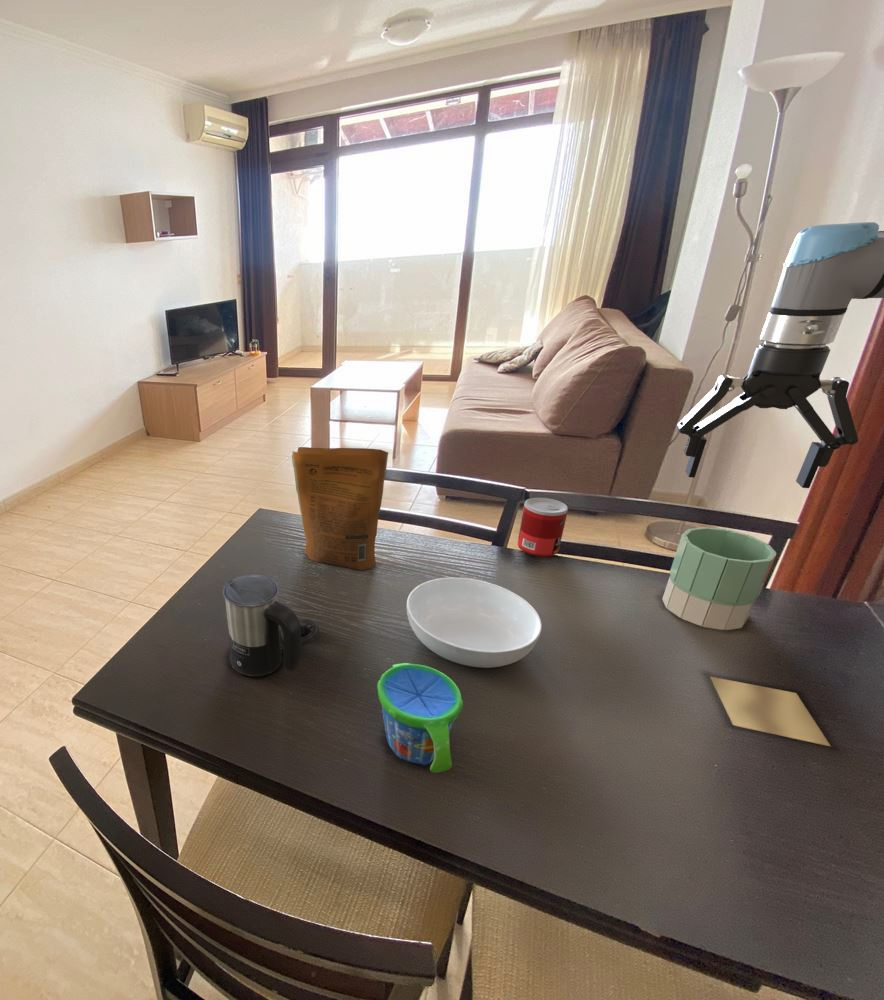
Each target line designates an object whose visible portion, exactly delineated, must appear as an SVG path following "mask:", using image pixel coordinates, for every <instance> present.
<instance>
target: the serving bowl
mask: <svg viewBox="0 0 884 1000" xmlns="http://www.w3.org/2000/svg"><path fill="white" fill-rule="evenodd" d="M406 614H407V615H406V616H407V619H408V622H409V625H410V628H411V630H412V631H413V633H414V635H415V636H416V637H417V638H418V640H419V641H420V642H421V643H422V644H423V646H425V647H426V648H428V649H429V650H430V651H431V652H433V653H434V654H436V655H438V656H439V657H441V658H443V659H445V660H448V661H450V662H453V663H456V664H459V665H463V666H467V667H473V668H482V669H483V668H485V669H486V668H487V669H488V668H498V667H499V668H500V667H504V666H508V665H512V664H513V663H516V662H518V661H520V660H522V659H523V658H524V657H526V656H527V655H528V654H529V653H531V651H532V650H533V649H534V648H535V646H536V644H537V642H538V641H539V639H540V636H541V633H542V630H543V625H542V620H541V617H540V615H539V613H538V612H537V610H536V609H535V608H534V607H533V606H532V605H531V604H530V603H529V602H528V601H527V600H525V598H523V597H522V596H519V595H518V594H516V593H515V592H514V591H511V590H509V589H507V588H505V587H503V586H500V585H497V584H494V583H491V582H488V581H484V580H479V579H475V578H469V577H468V578H467V577H441V578H435V579H431V580H428V581H425V582H422V583H421V584H419V585H417V586H416V587H414V588H413V590H412V591H411V592H410V593H409V594H408V597H407V600H406Z"/></svg>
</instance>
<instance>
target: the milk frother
mask: <svg viewBox="0 0 884 1000" xmlns="http://www.w3.org/2000/svg"><path fill="white" fill-rule="evenodd" d="M279 589H280V588H279V585H278V583H277V582H276V581H275V580H274V579H272V578H271V577H269V576H265V575H261V574H245V575H240V576H237V577H235V578H233V579H230V580H228V581H227V582H226V584H224V587H223V589H222V595H223V597H224V600H225V609H226V619H227V627H228V635H229V647H230V655H229V663H230V665H231V667H232V669H233V670H234V671H236V672H237V673H239V674H241V675H242V676H246V677H257V678H258V677H264V676H267V675H270V674H271V673H274V672H275V671H276V670H278V669H279V668H280V666H281V664H283V668H284V670H285V671H289V672H291V671H293V670H294V669H295V668H297V666H298V665H299V664H300V663H301V649H302V648H301V647H302V646H303V647H304V646H305V645H307V644H310V643H311V642H312V641H314V640H315V639H316V638H317V637H318V635H320V631H321V629H320V627H319V624H318V623H317V621H314V620H312V619H309V618H301V619H299V618H298V615H297V614H296V613H295V612H294V610H292V609H291V608H290V607H289V606H287V605H285V604H283V603H282V602H279V601H278V595H279ZM280 629H281V633H280ZM307 633H309V634H308V635H306V636H303V637H302V635H303V634H307ZM280 636H281V640H282V644H283V646H282V647H281V643H280V641H281V640H280ZM282 654H283V655H282ZM282 662H283V663H282Z"/></svg>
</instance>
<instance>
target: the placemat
mask: <svg viewBox="0 0 884 1000" xmlns="http://www.w3.org/2000/svg"><path fill="white" fill-rule="evenodd" d="M709 677H710V680H711V682H712V683H713V686H714V689H715V690H716V692H717V695H718V697H719V699H720V701H721V703H722V705H723V707H724V709H725V711H726V713H727V716H728V717H729V719H730V722H731V724H732V725H733V726H734V727H739V728H744V729H748V730H753V731H758V732H763V733H767V734H771V735H777V736H781V737H786V738H790V739H794V740H798V741H803V742H809V743H813V744H818V745H823V746H827V747H831V744H830V743H829V741H828V740H827V737H825V734H824V733H823V732H822V730H821V729H820V727H819V726H818V724H817V722H816V721H815V720H814V718H813V716H812V715H811V713H810V712H809V710H808V709H807V707H806V706H805V703H803V701H802V699H801V698H800V696H799V695H798V693H797V692H792V691H788V690H783V689H777V688H773V687H768V686H767V687H766V686H761V685H756V684H752V683H751V684H750V683H745V682H740V681H735V680H730V679H725V678H719V677H715V676H709Z"/></svg>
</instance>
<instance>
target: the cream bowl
mask: <svg viewBox="0 0 884 1000" xmlns="http://www.w3.org/2000/svg"><path fill="white" fill-rule="evenodd" d="M662 602H663V604H664V606H665V609H666V610H668V611H669V612H671V613H672V614H673V615H675V616H677V617H678V618H680V619H682V620H684V621H687V622H689V623H692V624H695V625H697V626H700V627H703V628H707V629H708V628H709V629H715V630H720V631H729V630H736V629H742V628H743V627H744V625H745V624H746V623H747V621H748V619H749V617H750V614H751V612H752V610H753V607H754V605H755V602H753V603H751V604H748V605H741V606H732V605H723V604H717V603H713V602H709V601H705V600H702V599H699V598H697V597H694V596H692V595H690V594H688V593H686V592H684V591H682V590H681V589H679V588H678V587H676V586H675V585H674V584H673V583H672V581H671V579H670V576H669V578H668V581H667V583H666V586H665V589H664V593H663V596H662Z"/></svg>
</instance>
